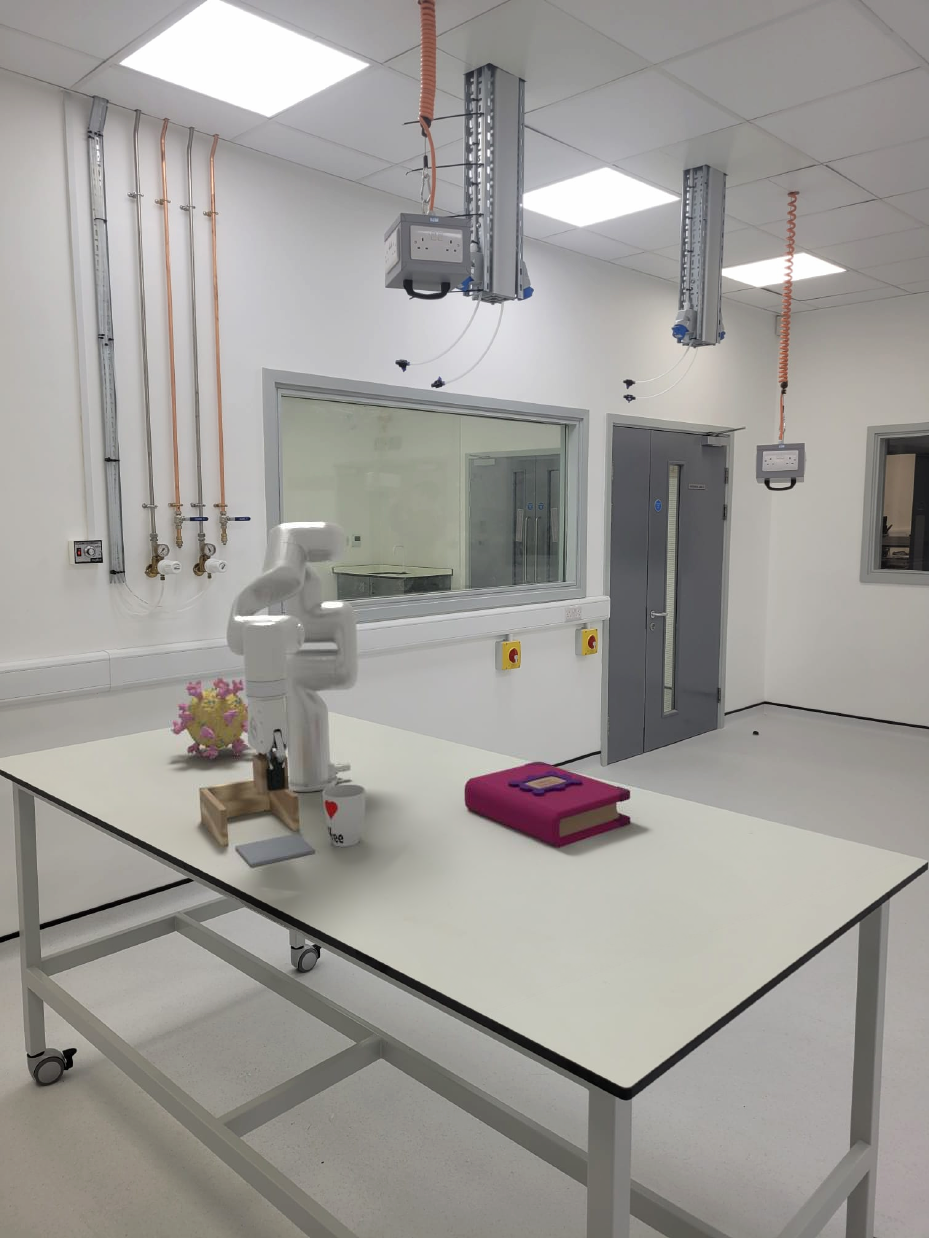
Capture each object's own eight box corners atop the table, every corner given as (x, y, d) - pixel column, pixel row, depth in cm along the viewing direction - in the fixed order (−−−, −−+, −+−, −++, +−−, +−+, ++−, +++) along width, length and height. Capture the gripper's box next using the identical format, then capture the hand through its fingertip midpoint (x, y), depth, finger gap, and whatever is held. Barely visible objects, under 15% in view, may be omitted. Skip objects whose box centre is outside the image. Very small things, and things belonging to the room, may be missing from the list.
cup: (319, 838, 168) (317, 788, 167) (359, 831, 172) (357, 781, 170) (331, 852, 161) (329, 800, 160) (373, 844, 164) (371, 793, 163)
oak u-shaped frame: (273, 806, 187) (272, 775, 186) (299, 829, 173) (298, 795, 172) (201, 821, 179) (199, 788, 178) (222, 845, 165) (220, 810, 164)
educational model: (155, 763, 222) (150, 687, 220) (205, 741, 243) (201, 671, 241) (235, 769, 215) (231, 691, 213) (279, 746, 237) (276, 674, 234)
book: (555, 851, 160) (554, 811, 159) (464, 811, 183) (463, 776, 182) (633, 825, 173) (633, 788, 172) (539, 791, 195) (539, 758, 194)
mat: (296, 836, 170) (296, 833, 170) (315, 852, 161) (314, 849, 161) (235, 849, 164) (235, 846, 163) (251, 867, 155) (251, 863, 155)
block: (279, 782, 164) (278, 751, 163) (288, 789, 160) (287, 757, 159) (253, 786, 161) (252, 755, 161) (262, 793, 157) (260, 761, 156)
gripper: (233, 683, 164) (238, 777, 166) (260, 698, 149) (265, 801, 151) (272, 679, 168) (276, 771, 170) (302, 693, 153) (307, 793, 155)
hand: (271, 784), depth 160 cm, fingers closed on block, 5 cm apart
